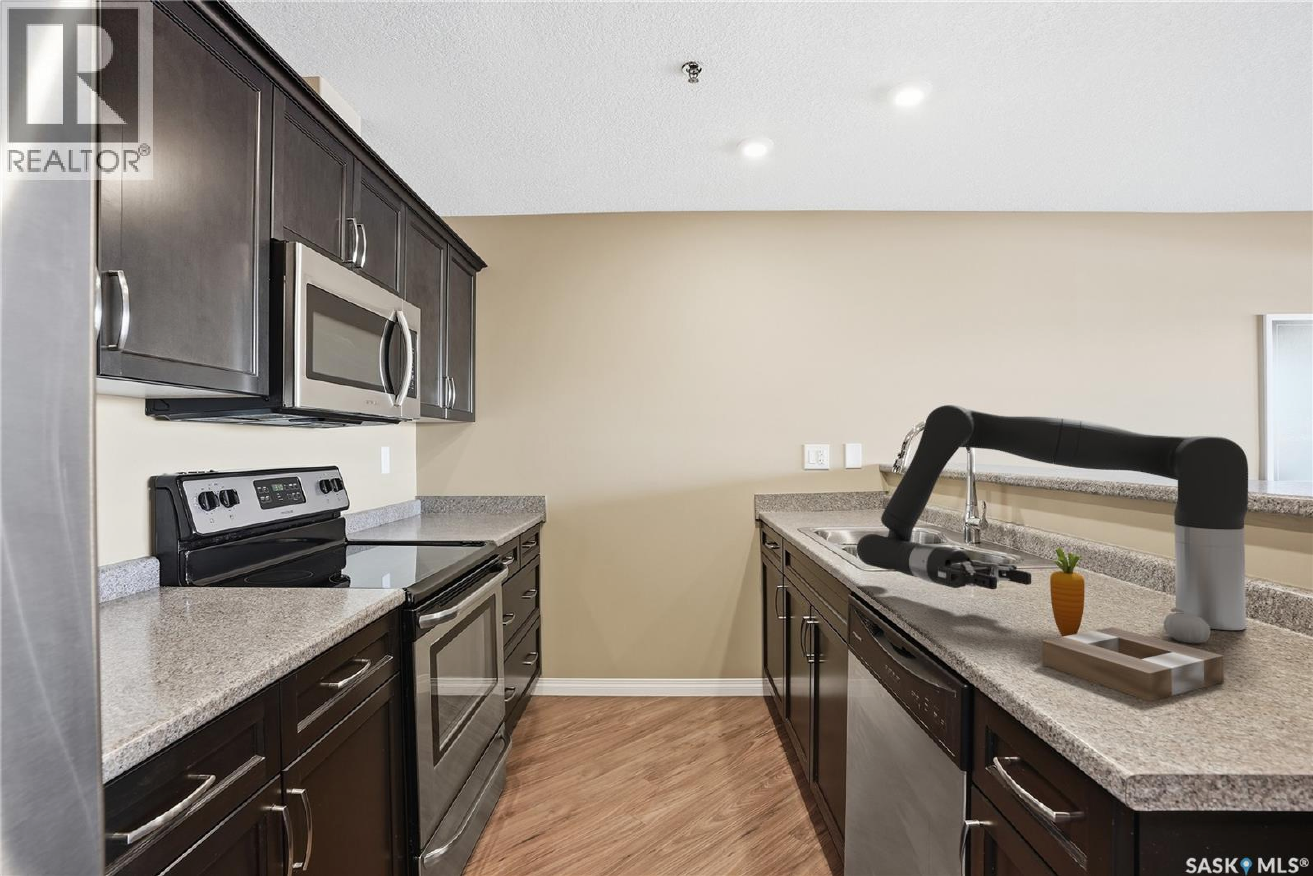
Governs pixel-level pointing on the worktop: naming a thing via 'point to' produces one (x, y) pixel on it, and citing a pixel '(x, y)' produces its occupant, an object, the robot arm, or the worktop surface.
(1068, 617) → the carrot
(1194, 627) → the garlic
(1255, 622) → the worktop surface
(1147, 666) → the brown and silver frame
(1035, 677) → the worktop surface
